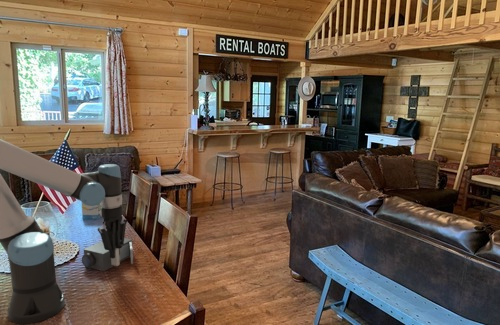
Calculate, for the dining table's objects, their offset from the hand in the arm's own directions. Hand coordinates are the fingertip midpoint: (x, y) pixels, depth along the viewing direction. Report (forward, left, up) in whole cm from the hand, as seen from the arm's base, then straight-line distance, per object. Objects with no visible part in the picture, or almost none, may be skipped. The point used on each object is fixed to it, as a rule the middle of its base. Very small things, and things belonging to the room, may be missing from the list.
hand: (115, 264), depth 141 cm
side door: (+8, 0, -2) cm, 9 cm away
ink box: (+42, +57, -2) cm, 71 cm away
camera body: (+4, +8, -2) cm, 9 cm away
